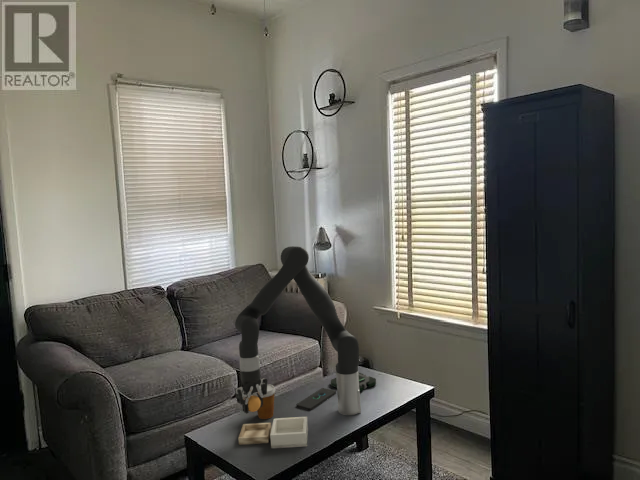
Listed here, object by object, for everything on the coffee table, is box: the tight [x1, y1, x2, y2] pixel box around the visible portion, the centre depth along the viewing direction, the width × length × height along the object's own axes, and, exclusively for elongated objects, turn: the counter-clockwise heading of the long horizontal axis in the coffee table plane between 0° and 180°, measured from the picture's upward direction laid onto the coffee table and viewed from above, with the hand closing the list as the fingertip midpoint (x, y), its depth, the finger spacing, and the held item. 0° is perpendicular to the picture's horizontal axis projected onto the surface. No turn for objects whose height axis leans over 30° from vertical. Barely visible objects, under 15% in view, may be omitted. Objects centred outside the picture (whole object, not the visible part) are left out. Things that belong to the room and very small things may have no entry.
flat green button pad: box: [329, 371, 377, 392], centre depth 228 cm, size 18×18×5 cm
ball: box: [247, 394, 261, 413], centre depth 184 cm, size 6×6×6 cm
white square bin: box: [269, 416, 309, 449], centre depth 182 cm, size 13×13×5 cm
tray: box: [238, 422, 272, 446], centre depth 185 cm, size 11×11×2 cm
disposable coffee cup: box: [252, 383, 276, 420], centre depth 201 cm, size 10×10×12 cm
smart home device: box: [296, 387, 337, 411], centre depth 214 cm, size 8×2×20 cm
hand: (253, 409), depth 184 cm, fingers closed on ball, 6 cm apart
